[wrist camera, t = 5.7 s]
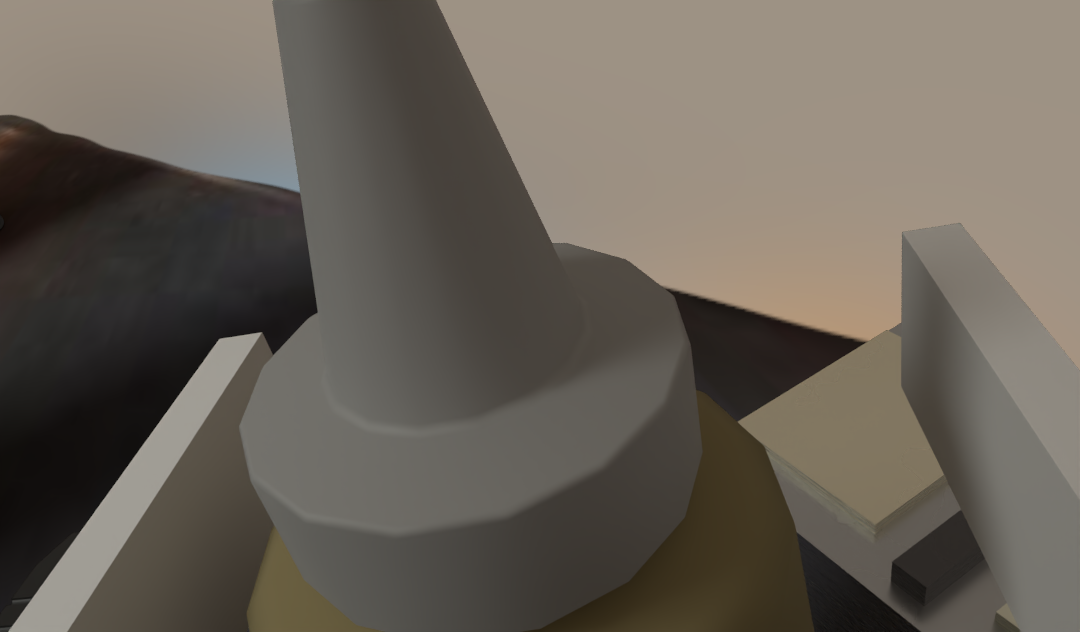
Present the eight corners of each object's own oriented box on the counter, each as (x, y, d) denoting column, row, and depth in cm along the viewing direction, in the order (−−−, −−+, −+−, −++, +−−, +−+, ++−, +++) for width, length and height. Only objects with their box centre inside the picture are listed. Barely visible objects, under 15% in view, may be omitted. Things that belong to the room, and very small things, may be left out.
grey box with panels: (706, 552, 23) (692, 432, 21) (902, 420, 26) (910, 300, 23) (1172, 985, 14) (1248, 865, 12) (1398, 711, 17) (1500, 565, 14)
